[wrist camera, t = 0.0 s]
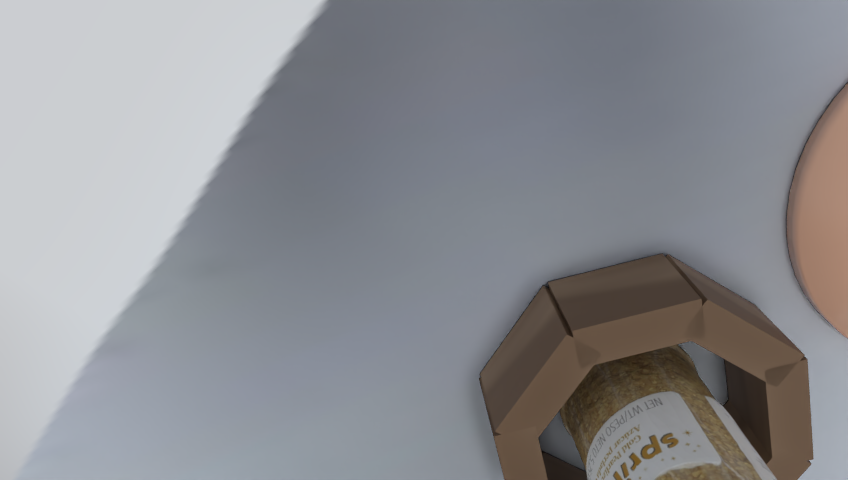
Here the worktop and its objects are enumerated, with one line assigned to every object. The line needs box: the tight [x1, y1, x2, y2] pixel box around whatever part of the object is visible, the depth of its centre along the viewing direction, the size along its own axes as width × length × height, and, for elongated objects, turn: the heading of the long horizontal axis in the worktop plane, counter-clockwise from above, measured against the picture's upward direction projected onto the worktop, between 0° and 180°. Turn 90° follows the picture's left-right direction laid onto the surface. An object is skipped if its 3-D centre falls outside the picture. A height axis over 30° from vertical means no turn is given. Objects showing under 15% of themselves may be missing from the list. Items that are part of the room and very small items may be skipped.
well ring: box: [479, 254, 813, 480], centre depth 24 cm, size 9×9×3 cm
